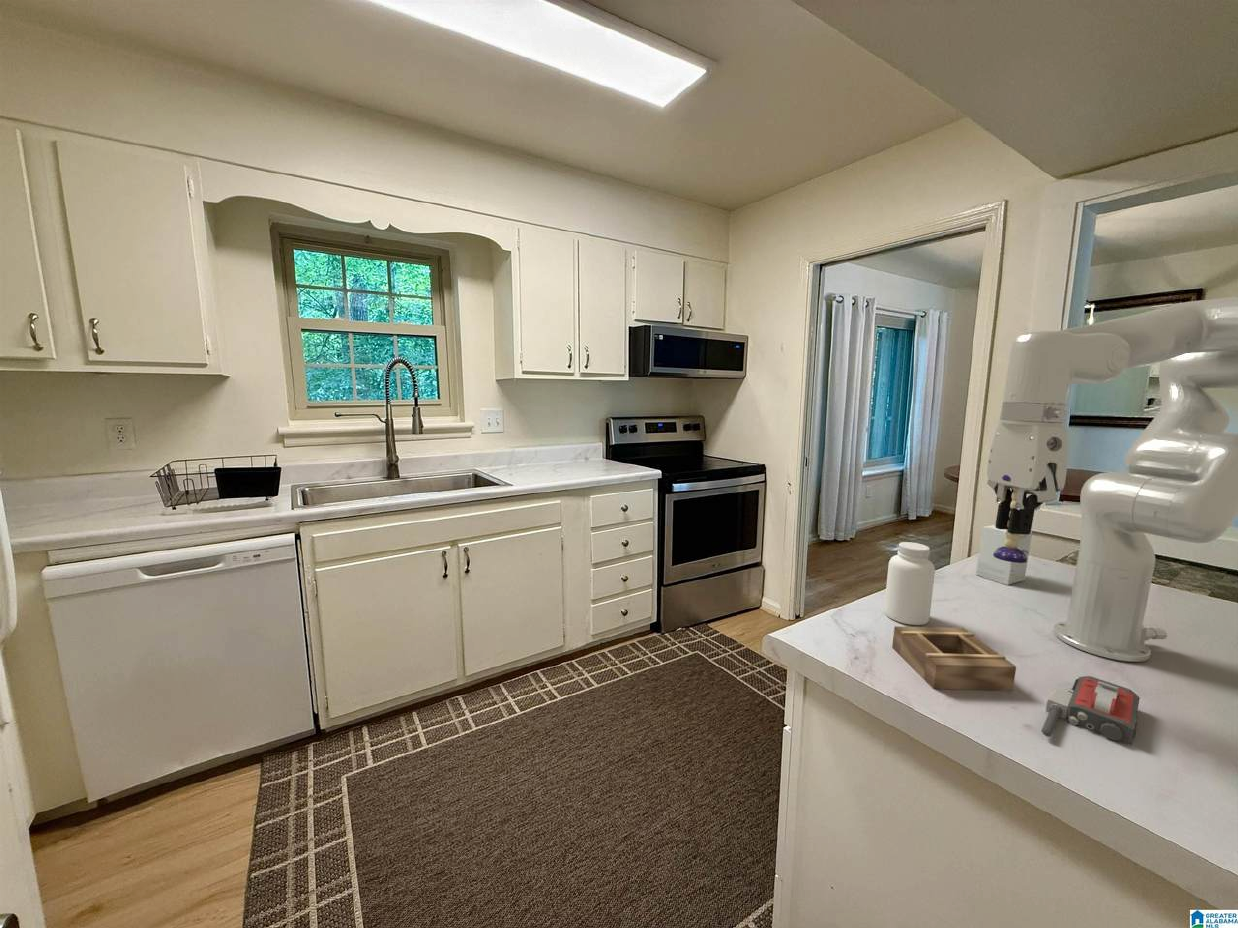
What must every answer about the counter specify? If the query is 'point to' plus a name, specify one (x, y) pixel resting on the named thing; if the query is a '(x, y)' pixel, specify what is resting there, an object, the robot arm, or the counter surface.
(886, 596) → the pill bottle
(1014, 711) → the counter surface
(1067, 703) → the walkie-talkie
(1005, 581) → the supplement box
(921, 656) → the tan wooden square frame
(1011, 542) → the toy lamp
